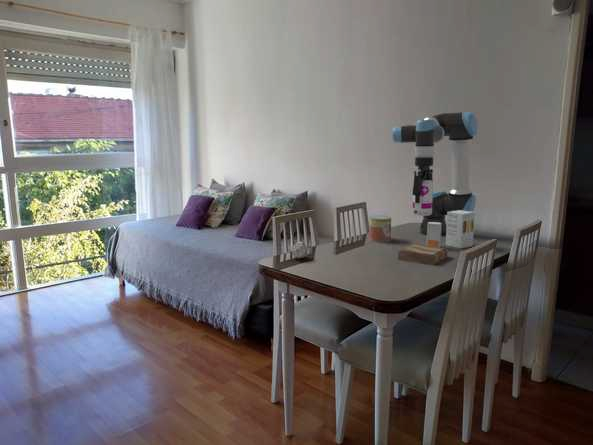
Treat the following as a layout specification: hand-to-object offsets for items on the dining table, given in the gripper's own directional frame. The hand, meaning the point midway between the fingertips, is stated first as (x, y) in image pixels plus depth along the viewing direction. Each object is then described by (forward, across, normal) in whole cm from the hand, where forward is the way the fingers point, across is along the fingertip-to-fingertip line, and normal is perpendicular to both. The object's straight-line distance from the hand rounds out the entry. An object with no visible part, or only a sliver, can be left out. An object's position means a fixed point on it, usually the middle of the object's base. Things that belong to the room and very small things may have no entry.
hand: (422, 209), depth 197 cm
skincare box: (+22, -22, -3) cm, 31 cm away
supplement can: (+2, 0, 0) cm, 2 cm away
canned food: (+22, -21, -32) cm, 44 cm away
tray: (+22, 0, +1) cm, 22 cm away
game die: (+22, +33, -42) cm, 58 cm away
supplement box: (+22, -32, +6) cm, 39 cm away
